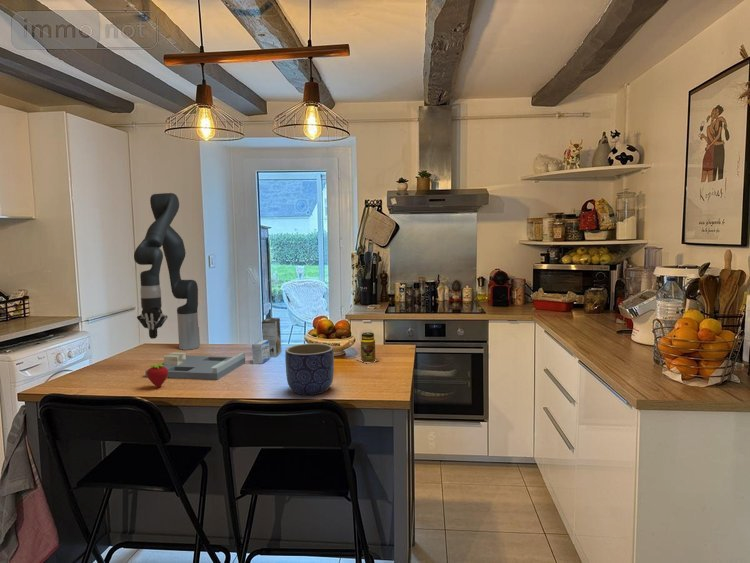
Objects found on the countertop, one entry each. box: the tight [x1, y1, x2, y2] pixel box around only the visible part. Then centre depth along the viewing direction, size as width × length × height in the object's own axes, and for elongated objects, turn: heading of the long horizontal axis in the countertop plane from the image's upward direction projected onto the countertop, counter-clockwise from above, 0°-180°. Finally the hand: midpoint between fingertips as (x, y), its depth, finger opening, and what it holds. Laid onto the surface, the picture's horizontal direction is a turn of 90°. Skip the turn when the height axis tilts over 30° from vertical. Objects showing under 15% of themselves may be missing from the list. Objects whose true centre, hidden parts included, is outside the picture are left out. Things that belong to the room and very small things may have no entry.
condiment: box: [360, 332, 376, 363], centre depth 206 cm, size 7×8×12 cm
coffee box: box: [261, 317, 282, 358], centre depth 219 cm, size 9×6×16 cm
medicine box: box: [251, 339, 271, 365], centre depth 208 cm, size 8×4×9 cm, turn 168°
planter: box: [284, 342, 335, 395], centre depth 168 cm, size 16×17×15 cm
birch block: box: [163, 352, 187, 365], centre depth 199 cm, size 6×6×4 cm
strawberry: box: [147, 360, 168, 388], centre depth 175 cm, size 6×8×10 cm
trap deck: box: [144, 352, 246, 381], centre depth 197 cm, size 24×30×4 cm
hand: (153, 338), depth 199 cm, fingers closed
